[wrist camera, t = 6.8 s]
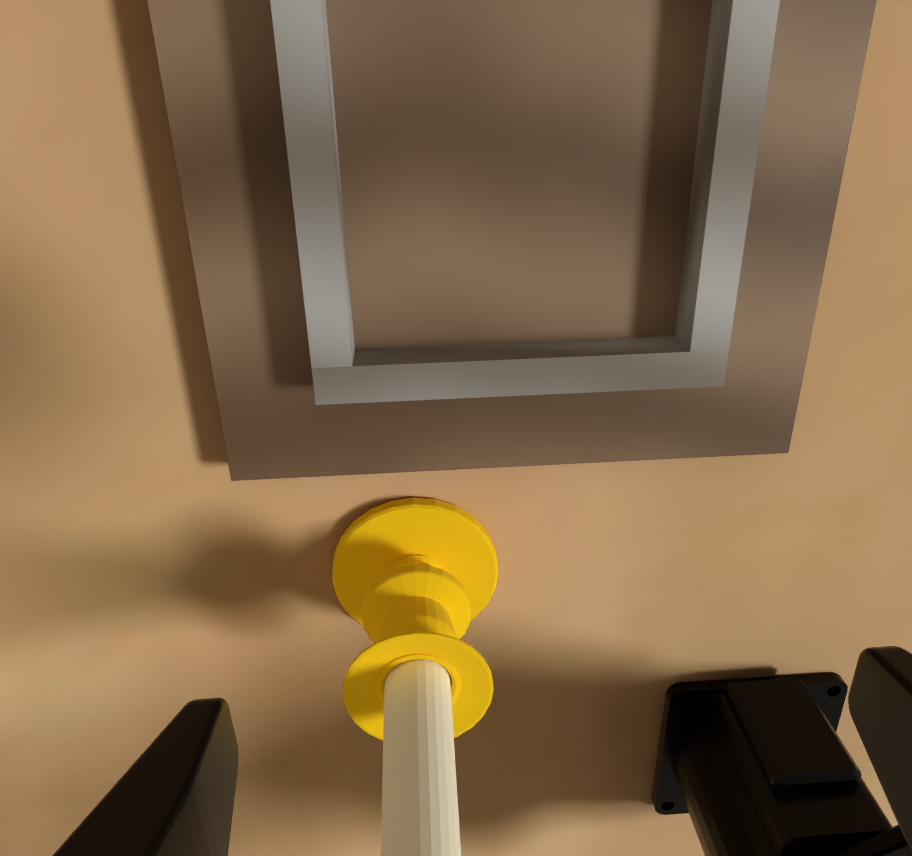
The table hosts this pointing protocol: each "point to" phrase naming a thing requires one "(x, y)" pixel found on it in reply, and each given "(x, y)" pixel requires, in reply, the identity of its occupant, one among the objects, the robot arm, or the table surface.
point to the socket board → (507, 223)
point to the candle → (417, 657)
